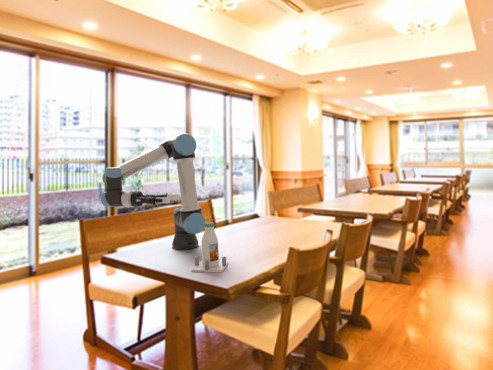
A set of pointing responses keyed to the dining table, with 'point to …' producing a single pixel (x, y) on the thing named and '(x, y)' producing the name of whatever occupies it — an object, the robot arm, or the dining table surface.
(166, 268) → the dining table surface
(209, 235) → the milk bottle
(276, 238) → the dining table surface
